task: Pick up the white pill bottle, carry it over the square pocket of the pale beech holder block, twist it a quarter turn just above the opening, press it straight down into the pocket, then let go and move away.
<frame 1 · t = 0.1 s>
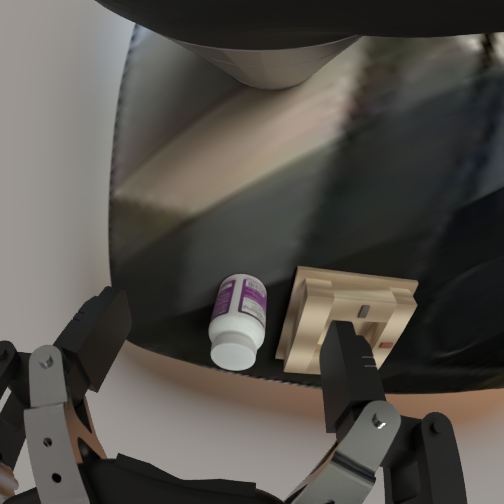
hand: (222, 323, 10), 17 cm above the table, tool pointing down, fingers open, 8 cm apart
holder: (343, 322, 33), on the table
pill bottle: (243, 290, 31), on the table
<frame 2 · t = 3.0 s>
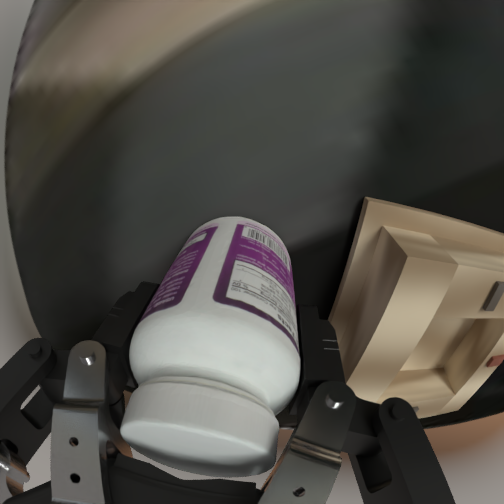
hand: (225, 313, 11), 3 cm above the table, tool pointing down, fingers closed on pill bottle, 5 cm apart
holder: (428, 327, 15), on the table
pill bottle: (237, 262, 14), on the table, touching gripper
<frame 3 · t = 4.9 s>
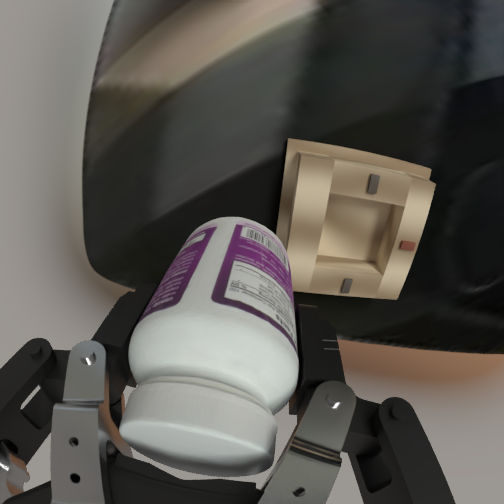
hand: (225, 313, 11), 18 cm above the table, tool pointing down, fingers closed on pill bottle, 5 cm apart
holder: (351, 223, 27), on the table
pill bottle: (236, 262, 14), point 14 cm above the table, touching gripper
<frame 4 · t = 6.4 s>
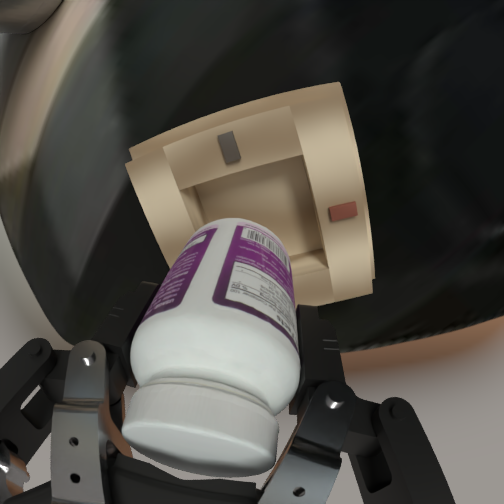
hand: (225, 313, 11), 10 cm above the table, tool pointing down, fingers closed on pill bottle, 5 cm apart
holder: (260, 210, 20), on the table
pill bottle: (237, 263, 14), point 7 cm above the table, touching gripper
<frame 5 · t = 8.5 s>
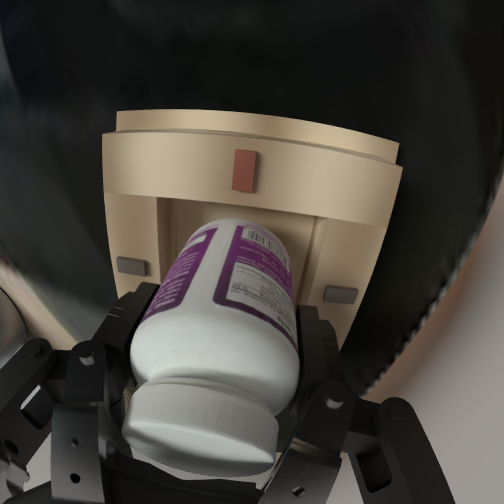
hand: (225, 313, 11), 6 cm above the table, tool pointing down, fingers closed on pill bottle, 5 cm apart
holder: (241, 246, 16), on the table
pill bottle: (237, 263, 14), point 2 cm above the table, touching gripper
when the fingers open (4 cm above the table, at t = 10.1 s): pill bottle stays where it is, resting on holder.
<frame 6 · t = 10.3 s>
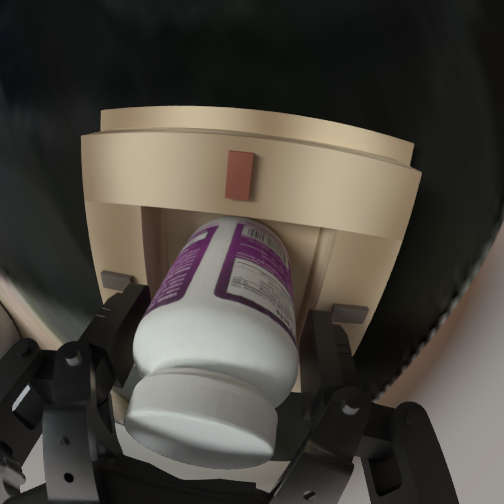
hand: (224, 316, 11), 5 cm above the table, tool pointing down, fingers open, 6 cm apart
holder: (238, 257, 15), on the table
pill bottle: (237, 260, 14), resting on holder
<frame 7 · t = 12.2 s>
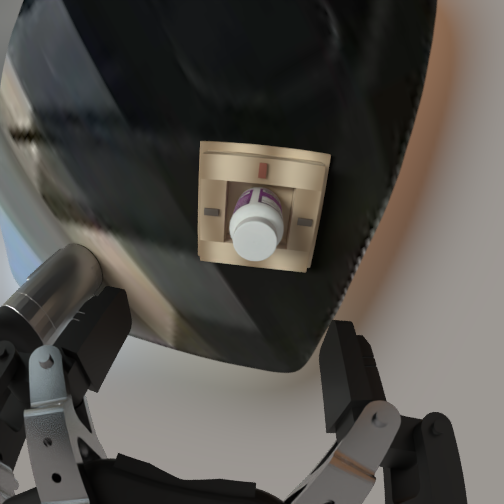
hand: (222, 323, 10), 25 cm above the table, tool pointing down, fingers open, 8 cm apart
holder: (259, 206, 34), on the table
pill bottle: (259, 206, 33), resting on holder
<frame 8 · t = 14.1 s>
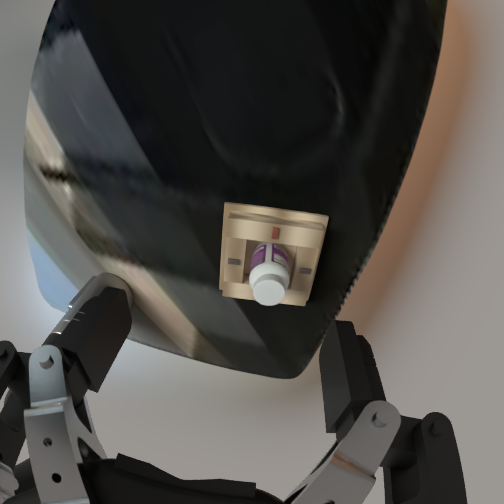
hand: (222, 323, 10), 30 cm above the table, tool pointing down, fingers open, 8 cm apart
holder: (270, 254, 43), on the table
pill bottle: (270, 255, 42), resting on holder
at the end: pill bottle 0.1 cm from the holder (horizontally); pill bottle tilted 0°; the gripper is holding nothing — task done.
